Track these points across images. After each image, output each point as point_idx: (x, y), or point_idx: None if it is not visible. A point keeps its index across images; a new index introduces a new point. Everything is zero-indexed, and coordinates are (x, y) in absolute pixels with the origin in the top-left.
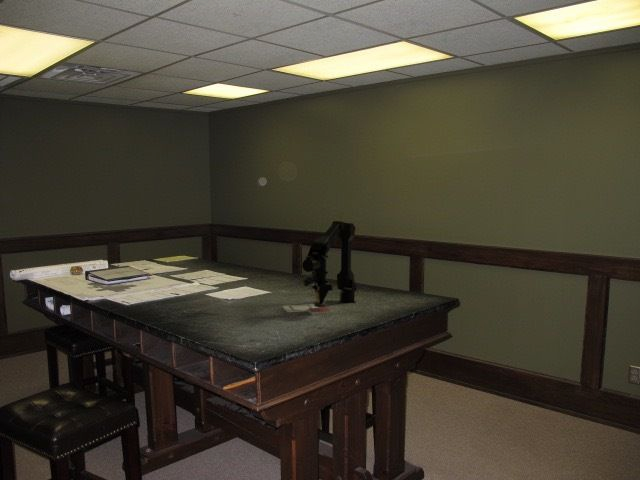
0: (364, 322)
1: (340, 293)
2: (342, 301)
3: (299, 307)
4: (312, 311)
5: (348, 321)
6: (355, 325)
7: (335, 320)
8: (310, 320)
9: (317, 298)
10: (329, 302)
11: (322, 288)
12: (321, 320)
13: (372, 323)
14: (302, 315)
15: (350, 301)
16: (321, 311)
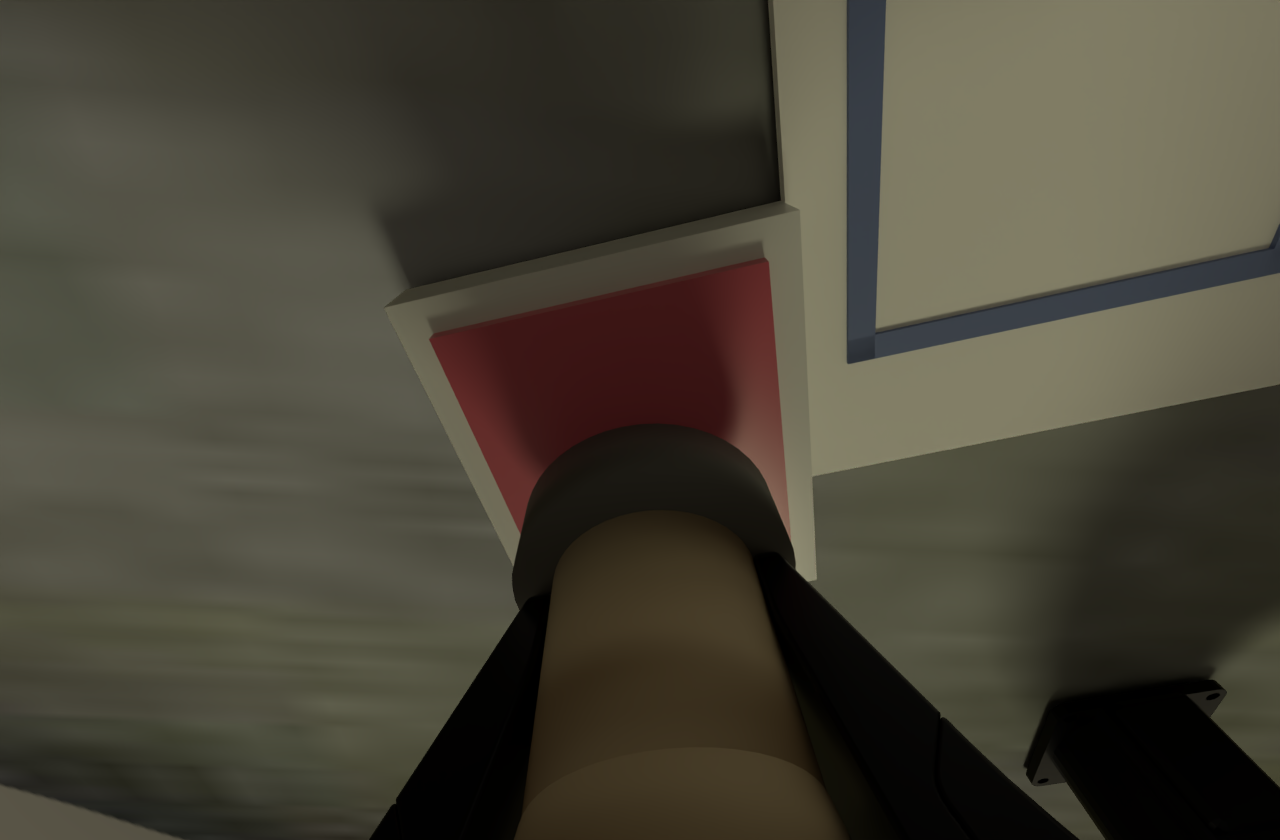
0: (240, 788)
1: (1262, 811)
2: (1111, 710)
3: (1178, 5)
4: (457, 332)
5: (225, 700)
6: (74, 737)
7: (218, 598)
8: (26, 233)
9: (563, 667)
10: (1225, 585)
11: None
12: (132, 434)
13: (227, 822)
14: (435, 53)
15: (1055, 763)
16: (504, 493)
